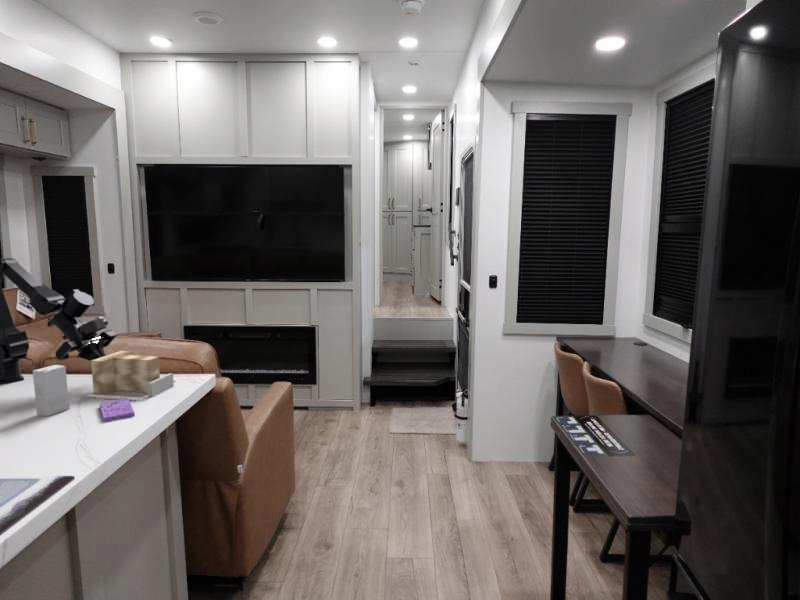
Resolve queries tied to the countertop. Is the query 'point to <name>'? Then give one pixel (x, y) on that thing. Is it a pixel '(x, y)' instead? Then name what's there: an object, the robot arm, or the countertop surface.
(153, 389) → the tray
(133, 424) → the countertop surface
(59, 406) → the skincare box
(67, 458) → the countertop surface
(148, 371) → the t block
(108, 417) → the sponges
